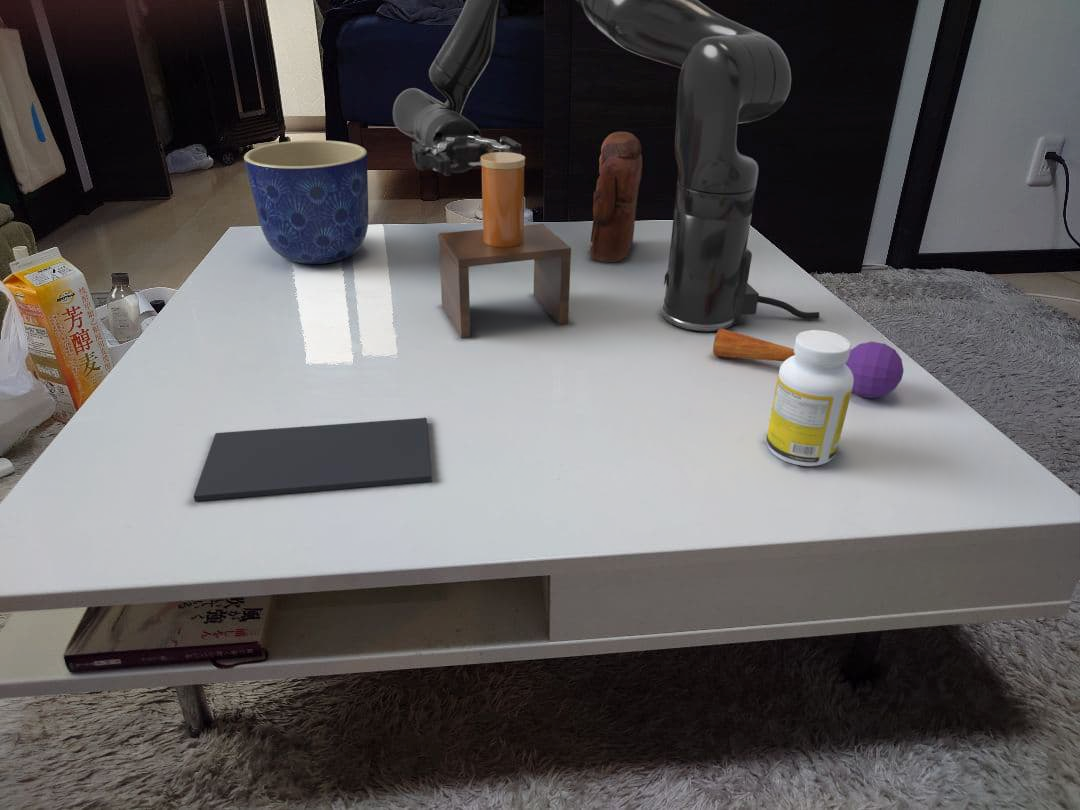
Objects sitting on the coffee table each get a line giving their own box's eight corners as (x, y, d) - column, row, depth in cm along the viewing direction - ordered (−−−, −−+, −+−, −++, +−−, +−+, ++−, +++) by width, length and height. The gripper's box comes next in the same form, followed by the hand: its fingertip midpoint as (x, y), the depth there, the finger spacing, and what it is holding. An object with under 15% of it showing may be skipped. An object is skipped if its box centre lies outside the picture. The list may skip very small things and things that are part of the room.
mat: (426, 422, 77) (426, 417, 77) (431, 481, 69) (431, 475, 68) (216, 438, 74) (215, 432, 74) (194, 501, 66) (193, 495, 65)
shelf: (541, 294, 106) (543, 223, 101) (568, 323, 98) (571, 247, 93) (441, 307, 102) (438, 233, 97) (461, 338, 94) (458, 259, 89)
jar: (521, 233, 97) (521, 151, 92) (527, 246, 93) (528, 161, 88) (480, 234, 97) (478, 152, 92) (484, 248, 92) (482, 163, 87)
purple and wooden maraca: (730, 313, 92) (911, 342, 82) (723, 361, 94) (900, 395, 84) (712, 321, 87) (903, 353, 77) (706, 372, 89) (892, 409, 79)
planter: (290, 283, 108) (272, 173, 100) (244, 250, 119) (225, 149, 111) (396, 258, 117) (388, 156, 109) (344, 230, 128) (334, 135, 121)
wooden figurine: (599, 238, 127) (606, 124, 118) (637, 242, 126) (647, 127, 117) (584, 262, 117) (590, 139, 108) (625, 266, 116) (635, 143, 107)
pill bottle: (821, 431, 77) (846, 325, 71) (845, 469, 71) (875, 357, 65) (756, 432, 77) (776, 325, 71) (775, 469, 71) (799, 357, 65)
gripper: (399, 114, 108) (424, 138, 95) (496, 110, 112) (533, 132, 99) (403, 169, 112) (427, 199, 99) (497, 162, 116) (532, 191, 103)
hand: (480, 165), depth 99 cm, fingers open, 8 cm apart
